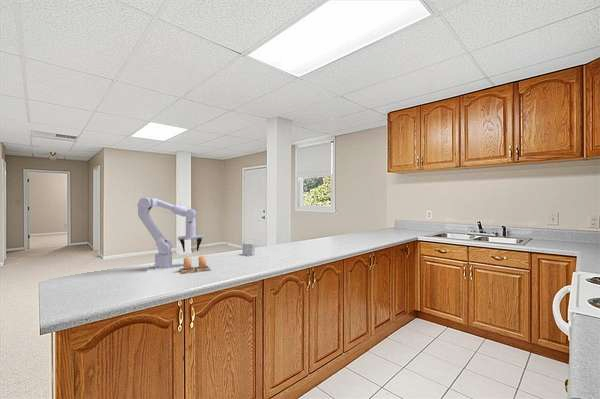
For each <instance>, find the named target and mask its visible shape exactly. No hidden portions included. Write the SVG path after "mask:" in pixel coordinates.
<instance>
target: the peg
mask: <svg viewBox="0 0 600 399" xmlns="http://www.w3.org/2000/svg"><path fill="white" fill-rule="evenodd" d="M191 267H192V257H184V258H183V268H184V271H185V270H191Z"/></svg>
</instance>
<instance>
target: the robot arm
mask: <svg viewBox="0 0 600 399" xmlns="http://www.w3.org/2000/svg"><path fill="white" fill-rule="evenodd" d="M153 207H160V208H164V209H167V210H169V211H172V214H174V215H178V216H180V217H185V235H184V236H177V241H179V242H180V244H181V247H182V251H183V253H185V252H186V249H185V244H186V243H185V240H187V241H189V240H196V251H197V252H199V249H200V246H201V243H202V240H203V239H204V235H203V234H200V235H198V234H197V231H196V230H197V228H196V225H197V222H196V215H197V212H196V210H194V209H193V208H190V207H188V206H187V207H185V206H183V205H182V203H179V204H172V203H169V202H166V201H164V200H160V199H159V198H154V197H150V196H149V197H148V196H147V197H146V196H143V197H141V198H140V199H138V203H137V209H138V210H137V216H138V218H139V219H140V220H141V222H142V224H143V225H144V227H145V228H146V229H147V231H148V232H149V234H150V235H151V236H152V238H153V239H154V241H155V244H156V247H157V250H158V253H155V254H154V265H153V266H154V269H155V270H156V269H157V270H158V269H168V268H171V267H173V252H172V248H173V243H172V242H171V241H169V240H168V239H167V238H166V237H165V236H164V235H163V234H162V232H161V230H160V229H159V227H158V226H157V224H156V223H155V221H154V220H153V218H152V217H151V215H150V211H151V210H152V208H153ZM196 234H197V235H196Z"/></svg>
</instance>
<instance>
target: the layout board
mask: <svg viewBox="0 0 600 399" xmlns="http://www.w3.org/2000/svg"><path fill="white" fill-rule="evenodd" d="M211 271H212V269H211V267H210V266H209V264H208V265H207V264H206V268H203V269H199V265H196V266H191V270H185V271H184V267H180V268H179V274H180V275H187V274H195V273H202V272H211Z"/></svg>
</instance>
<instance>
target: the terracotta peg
mask: <svg viewBox="0 0 600 399" xmlns="http://www.w3.org/2000/svg"><path fill="white" fill-rule="evenodd" d="M206 265H207V256H205V255H201V256H198V266H199V269H203V268H206Z"/></svg>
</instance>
